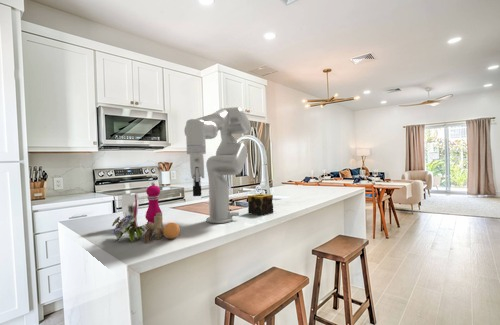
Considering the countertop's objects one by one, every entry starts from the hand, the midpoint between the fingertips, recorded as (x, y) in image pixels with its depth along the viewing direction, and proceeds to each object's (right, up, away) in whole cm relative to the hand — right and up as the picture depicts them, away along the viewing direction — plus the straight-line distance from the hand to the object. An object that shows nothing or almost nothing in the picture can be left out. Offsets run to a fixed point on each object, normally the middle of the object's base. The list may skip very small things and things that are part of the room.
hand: (197, 195), depth 105 cm
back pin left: (-14, -15, -6) cm, 21 cm away
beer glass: (-32, -16, +12) cm, 38 cm away
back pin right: (-15, -15, -1) cm, 21 cm away
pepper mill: (-23, -16, +15) cm, 31 cm away
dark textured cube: (+27, -15, +38) cm, 49 cm away
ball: (-8, -12, -6) cm, 16 cm away
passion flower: (-25, -16, -6) cm, 30 cm away
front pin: (-11, -14, -3) cm, 18 cm away
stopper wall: (-18, -16, -4) cm, 24 cm away
